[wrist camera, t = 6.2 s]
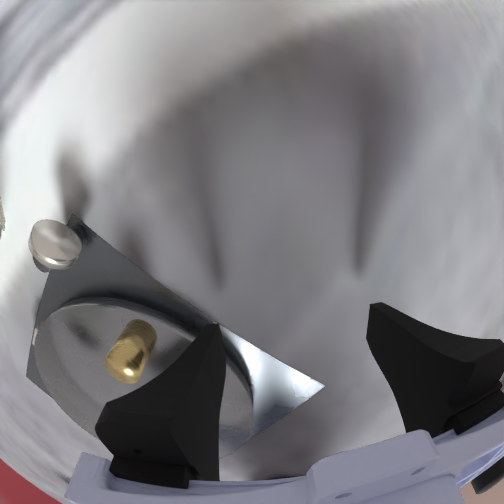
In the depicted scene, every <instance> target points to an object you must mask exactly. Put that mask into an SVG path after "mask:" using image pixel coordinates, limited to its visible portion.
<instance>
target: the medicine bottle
mask: <svg viewBox="0 0 504 504" xmlns="http://www.w3.org/2000/svg"><path fill="white" fill-rule="evenodd" d="M503 478H504V456H503V457H502V458H501V459H499V460H498V461H497V462H496V463H494V464H493V465H492V466H490V467H489V468H488V469H486V470H485V471H484V472H482V473H481V474H480V475H478V476H477V477H475V478H474V479H472V480H471V481H470V482H471V484H472V486H473V488H474V490H475V492H476V494H481V493H483V492H485V491H487V490H488V489H490V488H491V487H492V486H494V485H495V484H497V483H498V482H499V481H500V480H501V479H503Z"/></svg>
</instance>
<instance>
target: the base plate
mask: <svg viewBox="0 0 504 504" xmlns="http://www.w3.org/2000/svg"><path fill="white" fill-rule="evenodd" d="M67 226H68V227H69V228H71V227H73V226H80V227H82V228H83V229H84V230H85V232H86V234H87V245H86V246H85V248H83V249H82V250H81V251H80V254H79V256H78V258H77V260H76V263H75V264H74V265H73V266H72V267H70V268H68V269H62V270H61V269H52V270H50V272H49V275H48V278H47V282H46V285H45V288H44V292H43V295H42V299H41V302H40V306H39V310H38V314H37V318H36V322H35V327H34V332H35V328H36V327H37V326H38V325H39V324H40V323H41V322H42V321H43V320H44V321H45V320H46V319H47V318H48V317H49V316H50V315H51V314H52V313H53V312H54V311H55V310H56V309H57V308H58V307H60V306H62V305H64V304H65V303H67V302H70V301H73V300H76V299H79V298H87V297H109V298H116V299H123V300H127V301H131V302H134V303H138V304H142V305H145V306H147V307H150V308H153V309H155V310H158V311H161V312H163V313H165V314H167V315H169V316H171V317H173V318H175V319H178V320H179V321H181V322H183V323H185V324H186V325H188V326H190V327H191V328H193V329H195V330H196V331H198V332H199V333H200V332H201V330H202V329H203V328H204V327H205V325H206V324H218V323H217V322H215V321H214V320H212V319H211V318H209V317H208V316H206V315H205V314H203V313H202V312H200V311H199V310H197V309H196V308H194V307H193V306H192V305H190V304H189V303H187V302H186V301H184V300H183V299H181V298H180V297H179V296H177V295H176V294H174V293H173V292H171V291H170V290H169V289H167V288H166V287H164V286H163V285H162V284H160V283H159V282H158V281H156V280H155V279H154V278H152V277H151V276H149V275H148V274H147V273H145V272H144V271H143V270H141V269H140V268H139V267H138V266H136V265H135V264H134V263H132V262H131V261H130V260H128V259H127V258H126V257H125V256H123V255H122V254H121V253H119V252H118V251H117V250H116V249H114V248H113V247H112V246H111V245H109V244H108V243H107V242H106V241H105V240H103V239H102V238H101V237H100V236H98V235H97V234H96V233H95V232H94V231H92V230H91V229H90V228H89V227H88V226H87V225H85V224H84V223H83V222H82V221H81V220H80V219H78V218H77V217H76V216H75V215H74V214H73V213H72V215H71V217H70V220H69V222H68V224H67ZM219 325H220V324H219ZM220 330H221V335H222V339H223V344H224V349H225V353H226V355H227V356H228V357H229V358H230V359H231V360H232V361H233V362H234V363H235V364H236V365H237V367H238V368H239V370H240V371H241V373H242V374H243V375H244V377H245V379H246V381H247V383H248V385H249V387H250V390H251V394H252V397H253V409H254V422H253V428H252V431H251V433H250V436H249V438H251V437H253V436H254V435H256V434H257V433H259V432H261V431H262V430H264V429H265V428H267V427H268V426H270V425H272V424H273V423H275V422H276V421H278V420H279V419H281V418H282V417H284V416H285V415H286V414H288V413H289V412H291V411H292V410H294V409H295V408H296V407H298V406H299V405H300V404H302V403H303V402H305V401H306V400H307V399H309V398H310V397H311V396H313V395H314V394H315V393H316V392H318V391H319V390H320V389H322V388H323V387H324V386H325V385H323V384H321V383H319V382H317V381H315V380H313V379H311V378H310V377H308V376H306V375H304V374H302V373H300V372H299V371H297V370H295V369H293V368H291V367H290V366H288V365H286V364H284V363H283V362H281V361H279V360H277V359H276V358H274V357H272V356H270V355H269V354H267V353H265V352H264V351H262V350H260V349H259V348H257V347H255V346H254V345H252V344H250V343H249V342H247V341H245V340H244V339H242V338H241V337H239V336H237V335H236V334H234V333H233V332H231V331H229V330H228V329H226V328H225V327H223V326H222V325H220ZM34 332H33V336H32V342H33V337H34ZM32 342H31V347H30V353H29V359H28V366H27V373H26V377H28V378H29V379H30V380H31V381H32V382H33V383H34V384H36V385H37V386H38V387H39V388H40V389H42V390H43V391H44V392H45V393H47V394H48V395H49V396H50V397H52V396H51V395H50V393H49V391H48V390H47V388H46V386H45V385H44V383H43V381H42V378H41V376H40V374H39V371H38V368H37V365H36V360H35V353H34V345H33V344H32ZM52 398H53V397H52ZM249 438H248V439H249ZM248 439H247V440H248Z"/></svg>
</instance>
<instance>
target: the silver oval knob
mask: <svg viewBox="0 0 504 504" xmlns="http://www.w3.org/2000/svg"><path fill="white" fill-rule="evenodd" d="M86 245H87V234H86V232H85V230H84V229H83V228H82V227H80V226H73V227H71V228H69V227H68V226H66V225H65V224H63V223H60V222H58V221H54V220H48V219H46V220H40V221H38V222H36V223H35V224H34V226H33V228H32V231H31V234H30V238H29V241H28V246H29V249H30V251H31V253H32V255H33V260H34V263H35V265H36V266H37V268H38V269H39V270H40V271H42V272H49V271H50V270H52V269H61V270H62V269H68V268H70V267H72V266H73V265H74V264H75V263H76V260H77V258H78V256H79V254H80V251H81V250H82V249H83V248H85V246H86Z"/></svg>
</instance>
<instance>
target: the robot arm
mask: <svg viewBox="0 0 504 504" xmlns="http://www.w3.org/2000/svg"><path fill="white" fill-rule="evenodd" d="M366 339H367V342H368V345H369V347H370V350H371V352H372V355H373V356H374V358H375V360H376V362H377V364H378V365H379V367H380V369H381V371H382V372H383V374H384V376H385V378H386V380H387V381H388V383H389V385H390V387H391V389H392V391H393V393H394V396H395V399H396V401H397V404H398V407H399V410H400V413H401V416H402V419H403V422H404V426H405V430H406V433H405V434H403V435H400V436H397V437H394V438H391V439H388V440H385V441H382V442H378V443H375V444H371V445H368V446H364V447H361V448H357V449H353V450H349V451H344V452H341V453H337V454H334V455H331V456H328V457H325V458H324V459H322V460H320V461H318V462H316V463H314V464H313V465H312V466H311V468H310V469H309V470H308V472H307V474H306V476H300V477H292V478H284V479H274V480H261V481H220V480H219V418H220V409H221V403H222V397H223V391H224V384H225V378H226V353H225V349H224V344H223V339H222V335H221V330H220V325H219V323H218V324H206V325H205V327H204V328H203V329H202V330H201V332H200V333H199V334H198V335H197V337H196V338H195V339H194V341H193V342H192V343H191V344H190V345H189V347H188V348H187V349H186V350H185V351H184V352H183V353H182V354H181V356H180V357H179V358H178V359H177V360H176V361H175V362H174V363H173V364H171V365H170V366H169V367H168V368H167V369H166V370H164V371H163V372H162V373H161V374H159V375H158V376H157V377H155V378H154V379H152V380H151V381H149V382H148V383H146V384H145V385H143V386H141V387H140V388H138V389H136V390H134V391H132V392H130V393H128V394H126V395H124V396H121V397H119V398H116V399H114V400H111V401H109V402H106V404H105V406H104V408H103V410H102V412H101V414H100V416H99V419H98V421H97V423H96V425H95V432H96V434H97V436H98V438H99V439H100V440H101V442H102V443H103V444H104V445H105V446H106V447H107V449H108V450H109V451H110V452H111V453H112V454H113V455H114V457H113V460H112V462H111V461H109V460H107V459H105V458H102V457H99V456H95V455H91V454H88V453H84V452H83V453H81V456H80V458H79V460H78V463H77V465H76V468H75V470H74V473H73V475H72V477H71V480H70V483H69V485H68V488H67V490H66V493H65V498H66V499H67V500H69V501H70V502H72V503H73V504H465V502H464V500H463V498H462V495H461V493H460V491H459V488H460V487H462V486H463V485H465V484H467V483H468V482H469V481H471V480H472V479H474V478H475V477H477V476H478V475H480V474H481V473H482V472H484V471H485V470H486V469H488V468H489V467H490V466H492V465H493V464H494V463H496V462H497V461H498V460H499V459H501V458H502V457H503V456H504V393H503V392H502V391H501V390H500V389H501V388H502V383H501V382H500V381H499V380H500V378H501V376H502V374H503V372H504V343H503V342H502V341H501V340H500V339H479V338H471V337H465V336H460V335H456V334H452V333H449V332H445V331H442V330H439V329H436V328H434V327H431V326H429V325H427V324H424V323H422V322H420V321H418V320H416V319H414V318H412V317H410V316H408V315H406V314H404V313H402V312H400V311H398V310H396V309H394V308H392V307H391V306H389V305H386V304H384V303H382V302H380V303H374V304H370V310H369V319H368V328H367V335H366Z"/></svg>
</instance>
